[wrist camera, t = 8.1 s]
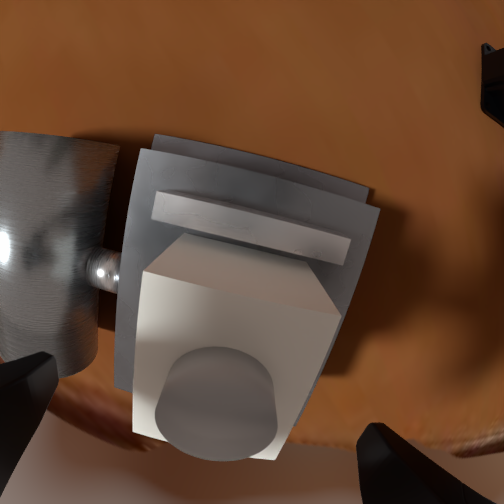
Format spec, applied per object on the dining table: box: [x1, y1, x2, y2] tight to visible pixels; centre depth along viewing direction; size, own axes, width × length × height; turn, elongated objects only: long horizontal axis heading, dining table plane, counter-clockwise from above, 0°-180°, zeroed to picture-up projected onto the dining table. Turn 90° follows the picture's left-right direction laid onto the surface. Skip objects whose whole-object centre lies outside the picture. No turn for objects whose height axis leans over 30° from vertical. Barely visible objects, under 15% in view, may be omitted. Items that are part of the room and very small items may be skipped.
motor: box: [0, 131, 380, 426], centre depth 14 cm, size 20×14×7 cm
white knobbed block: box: [133, 233, 341, 461], centre depth 9 cm, size 5×6×6 cm
